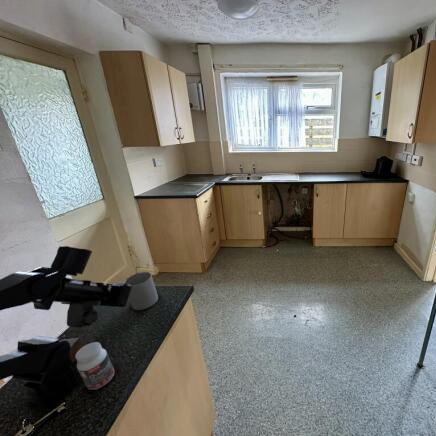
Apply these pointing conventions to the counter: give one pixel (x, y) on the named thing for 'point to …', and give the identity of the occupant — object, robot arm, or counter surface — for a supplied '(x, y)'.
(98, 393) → the counter surface
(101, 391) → the counter surface
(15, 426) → the counter surface
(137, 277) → the cup
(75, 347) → the walnut block
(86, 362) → the pill bottle
